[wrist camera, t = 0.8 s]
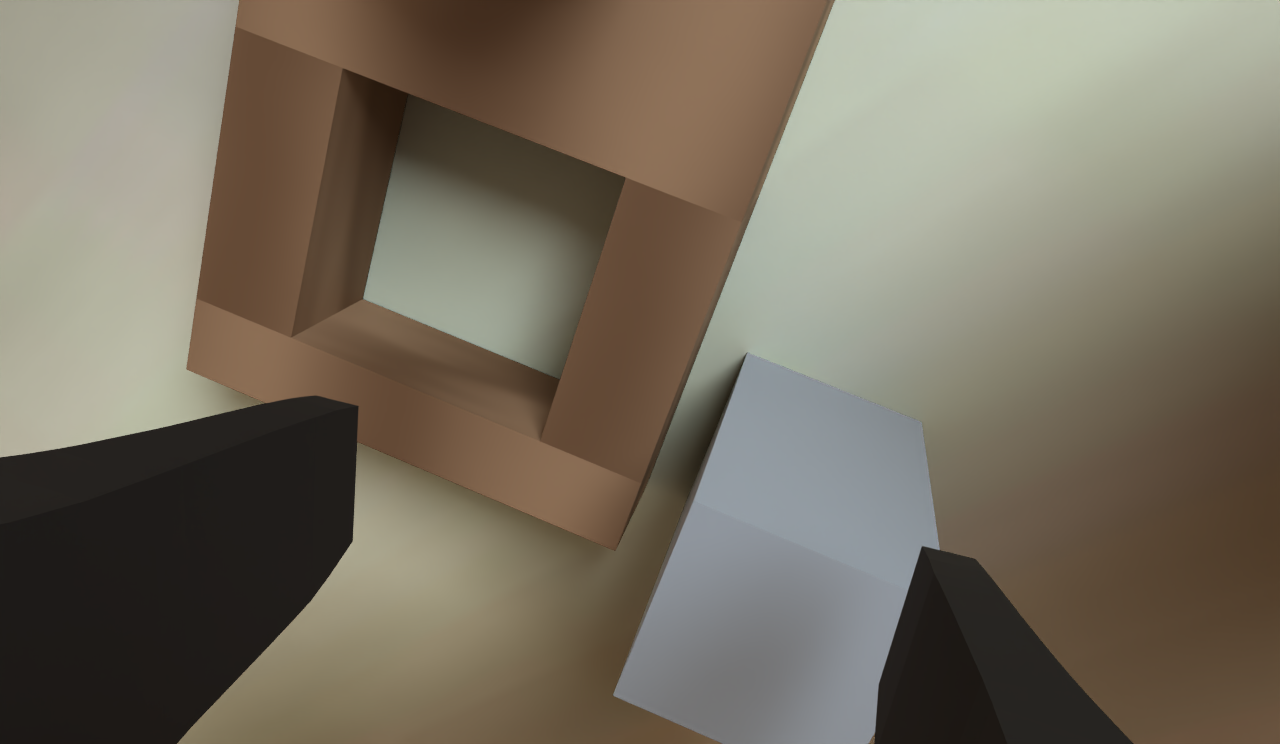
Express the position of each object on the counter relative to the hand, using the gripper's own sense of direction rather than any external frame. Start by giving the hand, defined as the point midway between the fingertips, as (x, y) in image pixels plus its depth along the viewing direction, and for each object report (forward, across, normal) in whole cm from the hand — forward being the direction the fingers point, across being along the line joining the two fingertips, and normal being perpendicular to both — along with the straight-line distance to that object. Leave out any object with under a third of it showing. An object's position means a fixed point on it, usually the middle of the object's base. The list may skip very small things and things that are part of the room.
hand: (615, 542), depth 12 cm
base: (+10, +4, -5) cm, 12 cm away
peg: (+10, -2, +3) cm, 10 cm away
